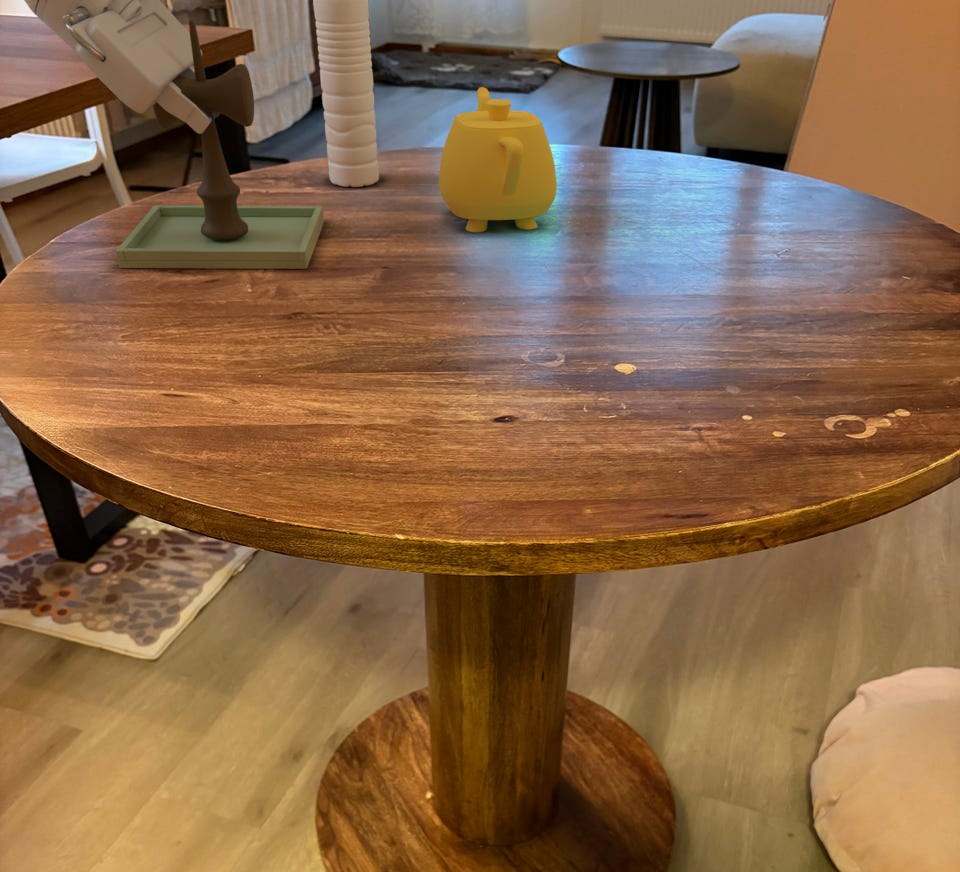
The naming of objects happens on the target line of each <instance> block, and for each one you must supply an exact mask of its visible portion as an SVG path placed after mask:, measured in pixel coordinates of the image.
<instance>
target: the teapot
mask: <svg viewBox="0 0 960 872" xmlns="http://www.w3.org/2000/svg"><path fill="white" fill-rule="evenodd" d="M476 92H477V93H476V94H477V109H476V111H467V112H466V111H465V112H460V113H458V114H457V115H456V116H455V117H454V118H453V121H452V124H451V126H450V128H449V131H448V134H447V137H446V139H445V143H444V146H443V149H442V153H441V156H440V157H441V158H440V162H439V163H440V164H439V172H438V173H439V174H438V188H439V189H438V190H439V192H440V195H441V197H442V199H443V201H444V203H445V204H446V206H447V208H448V209H449V210H450V211H451V213H452V214H453V215H454V216H457V217H459V218H462V219H466V220H468V221H467V223H466V225H465V230H466V231H467V232H471V233H483V232H486V231H487V229H488V224H489V223H488V222H489V221H509V220H514V222H515V227H516V228H518V229H519V230H535V229H537V228H538V224H537V222H536V220H535V218H534V217H539V216H542V215H544V214H546V213H547V212H548V211H549V209H550V208H551V206H552V205H553V202H554V201H555V198H556V196H557V183H558V182H557V172H556V165H555V159H554V156H553V152H552V148H551V145H550V142H549V139H548V135H547V133H546V130H545V128H544V125H543V123H542V121H541V119H540V118H538V117H537V115H535V114H534V113H532V112H530V111H526V110H525V111H523V110H511V109H512V101H510V100H508V99H504V98H503V99H501V98H495V99H491V95H490V91H489V90H488V88H486V87H483V86H480V87H478V89H477V91H476Z"/></svg>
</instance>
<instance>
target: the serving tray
mask: <svg viewBox="0 0 960 872" xmlns="http://www.w3.org/2000/svg"><path fill="white" fill-rule="evenodd" d="M237 209H238V213H239V216H240V218H241V219H242V220H243V221H244V222H245V223H247V225H248V232H247V233H246V234H245V235H244V236H242V237H239V238H236V239H232V240H215V239H210V238H207V237H205V236H204V235H203V234H201V226H202V224H203V223H204V220H205V208H204V205H179V204H177V205H172V204H171V205H170V204H169V205H164V204H163V205H161V204H160V205H159V204H155V205H153V206H152V207H151V208H150V209H149V211H148V212H147V213H146V214H145V215H144V217H143V218H142V219H141V220H140V222H138V224H137V225H136V226H135V227H134V229H133V230H132V231H131V232H130V233H129V234H128V235H127V237H126V238H125V239H124V240H123V242H121V243H120V245H119V246H118V247H117V248H116V250H115V253H116V254H115V255H116V258H117V263H118V267H119V268H120V269H225V270H226V269H230V270H231V269H234V270H235V269H237V270H238V269H241V270H242V269H243V270H244V269H245V270H246V269H249V270H250V269H251V270H254V269H255V270H256V269H259V270H262V269H263V270H265V269H266V270H270V269H271V270H307V269H308V268H309V264H310V261H311V259H312V256H313V253H314V251H315V248H316V246H317V242H318V240H319V238H320V235H321V232H322V229H323V227H324V224H325V216H324V207H323V205H237Z"/></svg>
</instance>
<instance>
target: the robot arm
mask: <svg viewBox="0 0 960 872" xmlns="http://www.w3.org/2000/svg"><path fill="white" fill-rule="evenodd" d="M23 1H24V2H25V4H26V5H27V6H28V8H29V9H30V11H31V12H32V13H33V14H34V15H35V16H36V17H37V18H39V20H40V21H41V22H43V23H44V24H45V25H46V26H47V27H48V28H49V29H50V30H51V31H52V32H54V33H55V34H56V35H57V36H58V37H59V38H60V39H61V40H62V41H64V42H65V44H67V45H68V46H69V47H70V48H71V49H72V50H73V51H74V52H75V53H76V54H77V56H78V57H79V58H80V60H81V61H82V62H83V63H84V65H85V66H86V67H87V68H88V69H89V70H90V71H91V72H92V73H93V74H94V75H95V76H96V78H98V79H99V80H100V81H101V83H103V85H105V87H107V88H108V89H109V90H110V91H111V92H112V93H113V95H115V96H116V97H117V98H118V99H119V100H120V101H121V102H122V103H123V104H124V105H126V107H128V108H129V109H131V110H132V111H133V112H136V113H138V114H139V115H140V114H141V115H143V114H145V113H146V112H147V111H148V110H150V109H151V108H153V105H154V104H155V103H158V104H159V105H160V106H162V107H163V108H164V109H165V110H166V111H167V112H169V113H170V114H172V115H174V116H175V117H177V118H179V119H180V121H182V122H184V123H185V124H187V125H188V126H189V127H190V128H191V129H192V130H193V131H194V132H195V133H196V134H198V135H202V134H201V133H203V132H204V131H205V129H206V128H207V127H208V126H209V124H210V123H211V120H212V119H211V116H210V115H209V114H208V113H207V112H205V110H204V109H203V108H202V107H201V106H200V105H197V106H196V105H195V104H194V103H193V102H192V101H190V100H189V99H188V98H187V97H186V96H184V95H183V94H182V93H181V90H180V89H179V88H178V87H177V86H176V85H175V84H174V83H173V82H172V80H174V79H175V78H176V77H177V76H179V75H182V76H184V77H186V78H189V79H196V78H195V70H194V63H193V55H192V47H191V40H190V31H188V30H187V29H186V27H185V26H184V25H182V23H181V22H180V21H179V20H178V19H177V17H175V15H174V14H173V13H172V12H171V11H170V10H169V9H168V8H167V6H166V5H165V4H163V2H162V1H161V0H23ZM200 50H201V55H202V56H203V51H202V49H201V48H200ZM212 112H213V116H214V120H215V119H216V118H218V117H219V115H220V114H221V113H218V112H214V111H212Z"/></svg>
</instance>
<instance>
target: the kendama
mask: <svg viewBox="0 0 960 872" xmlns="http://www.w3.org/2000/svg"><path fill="white" fill-rule="evenodd" d="M188 23H189V24H188V29H189V33H190V40H191V47H192V55H193V63H194V70H195V78H196V79H189V78H186V77H184V76H182V75H179V76H177V77H176V78H175V79H174V80H172V82H173V83H174V84H175V85H176V86H177V87H178V88H179V89H180V90H181V93H182V94H183V95H184V96H186V97H187V98H188V99H189V100H190V101H192V102H193V103H194V104H195V105H196V106H197V105H200V106H201V107H202V108H203V109H204V110H205V112H207V113H208V114H209V115H210V116H211V119H212V120H211V123H210V124H209V126H208V127H207V128H206V129H205V131H204V132H203V133H201V134H200V135H201V146H202V147H201V148H202V180H201V183H200V185H199V186H198V187H197V188H196V195H197V196H198V197H199V198H200V200H201V201H202V203H203V206H204V208H205V220H204V223H203V224H202V226H201V234H203V235H204V236H205V237H207V238H210V239H215V240H232V239H236V238H239V237H242V236H244V235H245V234H246V233H247V232H248V225H247V223H245V222H244V221H243V220H242V219H241V218H240V216H239V213H238V209H237V206H238V203H237V201H238V196H240V193H241V188H240V185H239V186H238V185H237V184H236V183H235V182H234V180H233V178H232V177H231V174H230V172H229V169H228V166H227V163H226V159H225V156H224V153H223V149H222V145H221V141H220V137H219V133H218V129H217V126H216V122H215V119H214V116H213V112H212V111H214V112H218V113H220V114H221V115H223V116H225V117H227V118H229V119H231V120H233V121H234V122H236V123H237V124H239V125H241V126H243V127H246V128H247V127H251V126H252V125H253V123H254V120H255V99H254V89H253V83H252V79H251V75H250V72H249V69H248V67H247V66H246V64H244V63H239V64H236V65H234V66H233V67H232V68H230V69H228V70H227V71H225V72H224V73H222V74H221V75H219V76H217V77H214V78H211V79H207V77H206V72H205V67H204V60H203V54H202V55H201V51H202V49H201V45H200V39H199V35H198V30H197V26H196V23H195V21H194V20H193V19H189V22H188ZM200 49H201V50H200ZM152 109H153V113H154V116H155V119H156V121H157V123H158V125H159V126H160V127H161V129H165V130H166V129H169V128H171V127H173V126H174V125H175V124H176V123H177V122H179V121H181V119H179V118H177V117H175V116H174V115H172V114H170V113H169V112H167V111H166V110H165V109H164V108H163V107H162V106H160V105H159V104H158V103H155V104H154V105H153V106H152Z"/></svg>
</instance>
